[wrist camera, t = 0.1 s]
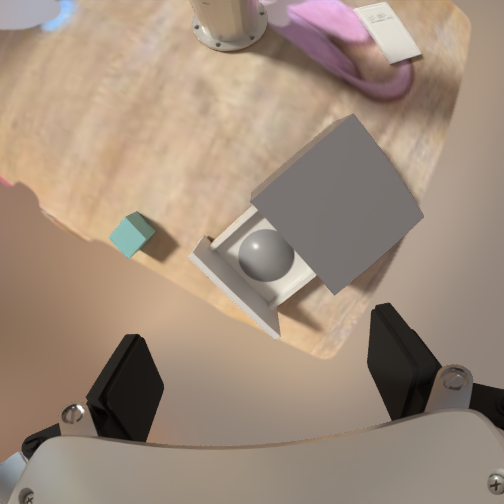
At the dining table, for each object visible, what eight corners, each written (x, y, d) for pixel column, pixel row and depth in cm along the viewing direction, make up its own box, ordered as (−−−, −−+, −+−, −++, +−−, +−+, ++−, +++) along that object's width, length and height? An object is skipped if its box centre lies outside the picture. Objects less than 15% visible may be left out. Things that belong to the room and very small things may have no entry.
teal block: (120, 230, 48) (108, 237, 43) (137, 211, 47) (125, 217, 42) (139, 249, 49) (128, 259, 44) (156, 231, 48) (146, 239, 43)
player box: (251, 192, 45) (250, 201, 36) (333, 122, 41) (353, 113, 32) (320, 269, 49) (334, 295, 40) (395, 204, 45) (424, 216, 36)
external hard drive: (388, 65, 38) (352, 11, 34) (418, 55, 36) (384, 4, 33) (392, 63, 36) (354, 8, 33) (422, 53, 35) (387, 1, 31)
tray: (200, 238, 47) (187, 257, 39) (281, 165, 43) (287, 166, 35) (272, 310, 52) (275, 340, 43) (350, 248, 48) (369, 267, 39)
